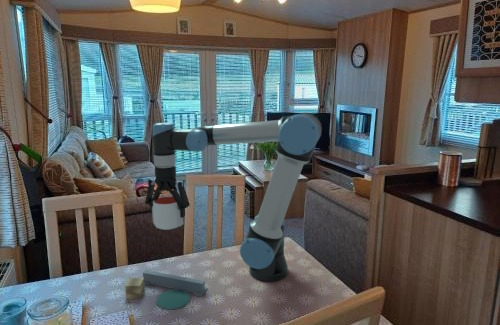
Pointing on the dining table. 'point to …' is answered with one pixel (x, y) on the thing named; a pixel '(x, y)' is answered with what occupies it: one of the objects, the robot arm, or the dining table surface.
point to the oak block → (135, 288)
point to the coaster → (173, 299)
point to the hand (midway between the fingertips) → (168, 223)
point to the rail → (175, 282)
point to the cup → (165, 213)
